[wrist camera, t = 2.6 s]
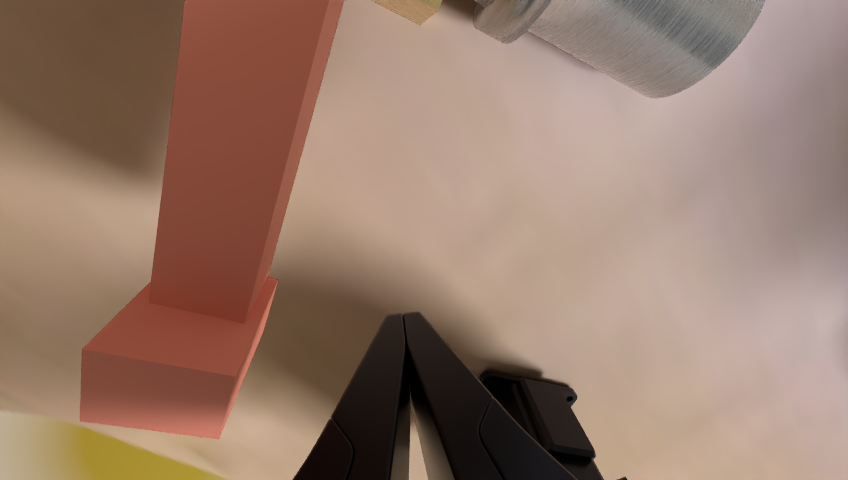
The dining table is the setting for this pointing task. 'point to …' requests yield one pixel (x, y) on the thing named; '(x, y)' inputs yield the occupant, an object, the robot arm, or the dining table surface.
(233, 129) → the lever
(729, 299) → the dining table surface
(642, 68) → the valve
